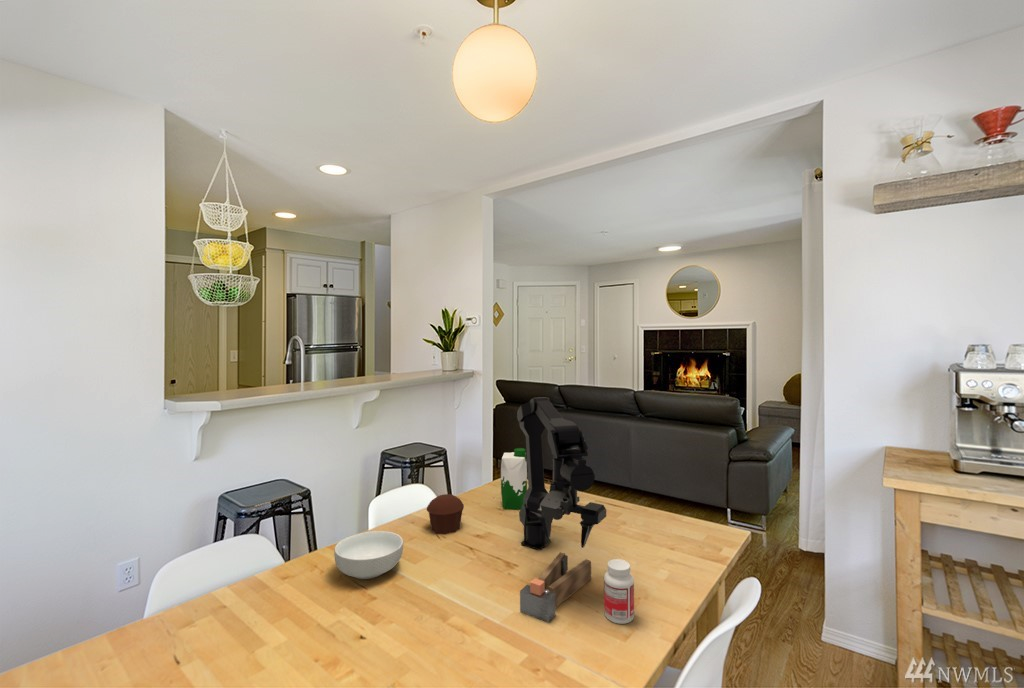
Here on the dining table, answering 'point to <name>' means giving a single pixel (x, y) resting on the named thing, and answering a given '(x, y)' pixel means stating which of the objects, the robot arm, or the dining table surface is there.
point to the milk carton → (513, 479)
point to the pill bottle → (619, 592)
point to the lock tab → (537, 587)
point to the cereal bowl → (368, 554)
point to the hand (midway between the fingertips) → (565, 542)
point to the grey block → (537, 604)
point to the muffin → (445, 514)
